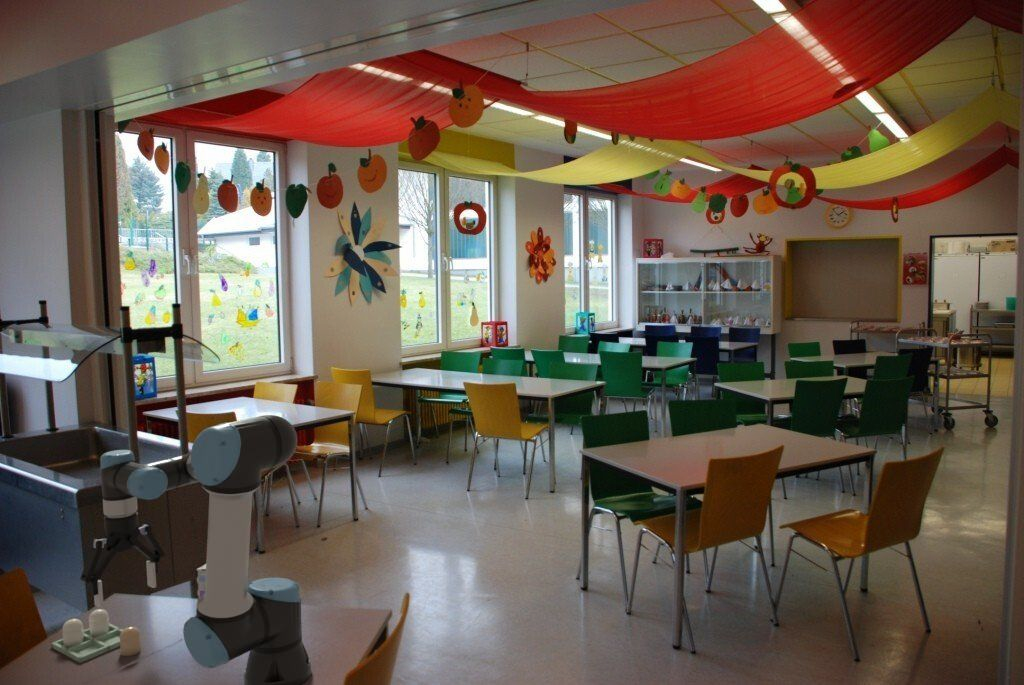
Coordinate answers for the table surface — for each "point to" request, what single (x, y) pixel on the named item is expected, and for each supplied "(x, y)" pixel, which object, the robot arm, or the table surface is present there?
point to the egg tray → (91, 645)
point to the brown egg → (130, 641)
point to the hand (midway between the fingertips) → (126, 596)
